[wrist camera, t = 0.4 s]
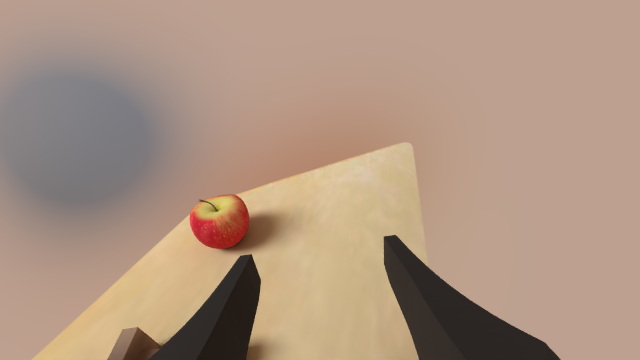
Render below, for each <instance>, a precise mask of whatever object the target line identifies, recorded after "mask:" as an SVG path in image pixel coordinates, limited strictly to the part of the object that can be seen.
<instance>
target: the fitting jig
mask: <svg viewBox="0 0 640 360" xmlns="http://www.w3.org/2000/svg"><path fill="white" fill-rule="evenodd" d="M159 349H160V345H159V344H158V343H157V342H155V341H154V340H153V339H152V338H150V337H149V336H148V335H147V334H146V333H144V332H143V331H142V330H141V329H139V328H138V327H136V328H129V329H123V330H122V332H121V334H120V336H119V338H118V340H117V342H116V344H115V346H114V348H113V350H112V352H111V354H110V356H109V357H108V359H107V360H148V359H149V358H150V357H151V356H152V355H153V354H155V353H156V352H157V351H158V350H159Z"/></svg>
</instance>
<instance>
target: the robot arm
mask: <svg viewBox="0 0 640 360" xmlns="http://www.w3.org/2000/svg"><path fill="white" fill-rule="evenodd" d="M384 265H385V269H386V272H387V275H388V279H389V282H390V284H391V287H392V289H393V292H394V294H395V296H396V299H397V301H398V303H399V306H400V308H401V310H402V313H403V315H404V318H405V320H406V322H407V325H408V327H409V330H410V332H411V335H412V338H413V341H414V344H415V347H416V351H417V354H418V357H419V360H560V359H559V357H558V356H557V355H556V354H555V353H554V352H553V351H552V350H551V349H550V348H549V347H548V346H547V344H546V343H544V342H543V341H541V340H539V339H537V338H535V337H533V336H531V335H529V334H527V333H525V332H523V331H521V330H520V329H518V328H515V327H514V326H512V325H510V324H508V323H507V322H505V321H503V320H501V319H499V318H498V317H496V316H494V315H493V314H491V313H489V312H488V311H486V310H485V309H483V308H482V307H480V306H478V305H477V304H475V303H473V302H472V301H470V300H469V299H468V298H466V297H465V296H464V295H462V294H461V293H459V292H458V291H457V290H455V289H454V288H453V287H451V286H450V285H449V284H447V283H446V282H445V281H444V280H442V279H441V278H440V277H439V276H438V275H436V274H435V273H434V272H433V271H432V270H431V269H429V268H428V267H427V266H426V265H425V264H424V263H423V262H422V261H421V260H420V259H419V258H418V257H416V256H415V255H414V254H413V253H412V252H411V251H410V250H409V249H408V247H407V246H406V245H405V244H404V243H403V242H402V241H401V240H400V239H399V238H398V237H397V236H396V235H392V236H384ZM260 285H261V279H260V276H259V274H258V271H257V268H256V265H255V263H254V260H253V257H252V254H250V255H243V256H240V257H239V258H238V260H237V261H236V262H235V264H234V265H233V267H232V268H231V269H230V271H229V272H228V273H227V275H226V276H225V277H224V279H223V280H222V281H221V283H220V284H219V285H218V287H217V288H216V289H215V291H214V292H213V293H212V294H211V296H210V297H209V298H208V299H207V300H206V302H205V303H204V304H203V305H202V306H201V308H200V309H199V310H198V311H197V312H196V313H195V314H194V316H193V317H192V318H191V319H190V320H189V321H188V322H187V323H186V324H185V325H184V326H183V327H182V328H181V329H180V330H179V331H178V332H177V333H176V334H175V335H174V336H173V337H172V338H171V339H170V340H169V341H168V342H167V343H166V344H164V345H163V346H162V347H161V348H160V349H159V350H158V351H157V352H156V353H155V354H153V355H152V356H151V357H150V358H149V359H148V360H246V356H247V350H248V345H249V341H250V336H251V332H252V328H253V323H254V319H255V315H256V310H257V306H258V301H259V294H260Z"/></svg>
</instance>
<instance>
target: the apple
mask: <svg viewBox="0 0 640 360" xmlns="http://www.w3.org/2000/svg"><path fill="white" fill-rule="evenodd" d="M199 202H201V203H199V204H198V205H197V206H195V207H194V208H193V210H192V211H191V213H190V225H191V228H192V231H193V233H194V235H195V236H196V237H197V239H198V240H199V241H200V242H201V243H203V244H204V245H206V246H208V247H211V248H216V249H223V248H229V247H232V246H234V245H235V244H237V243H238V242H239V241H240V240H241V239H242V238H243V237H244V235H245V234H246V232H247V229H248V226H249V214H248V210H247V208H246V205H245V204H244V202H243V201H242V199H241V198H239V197H238V196H236V195H221V196H216V197H212V198H209V199H207V200H199Z"/></svg>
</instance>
